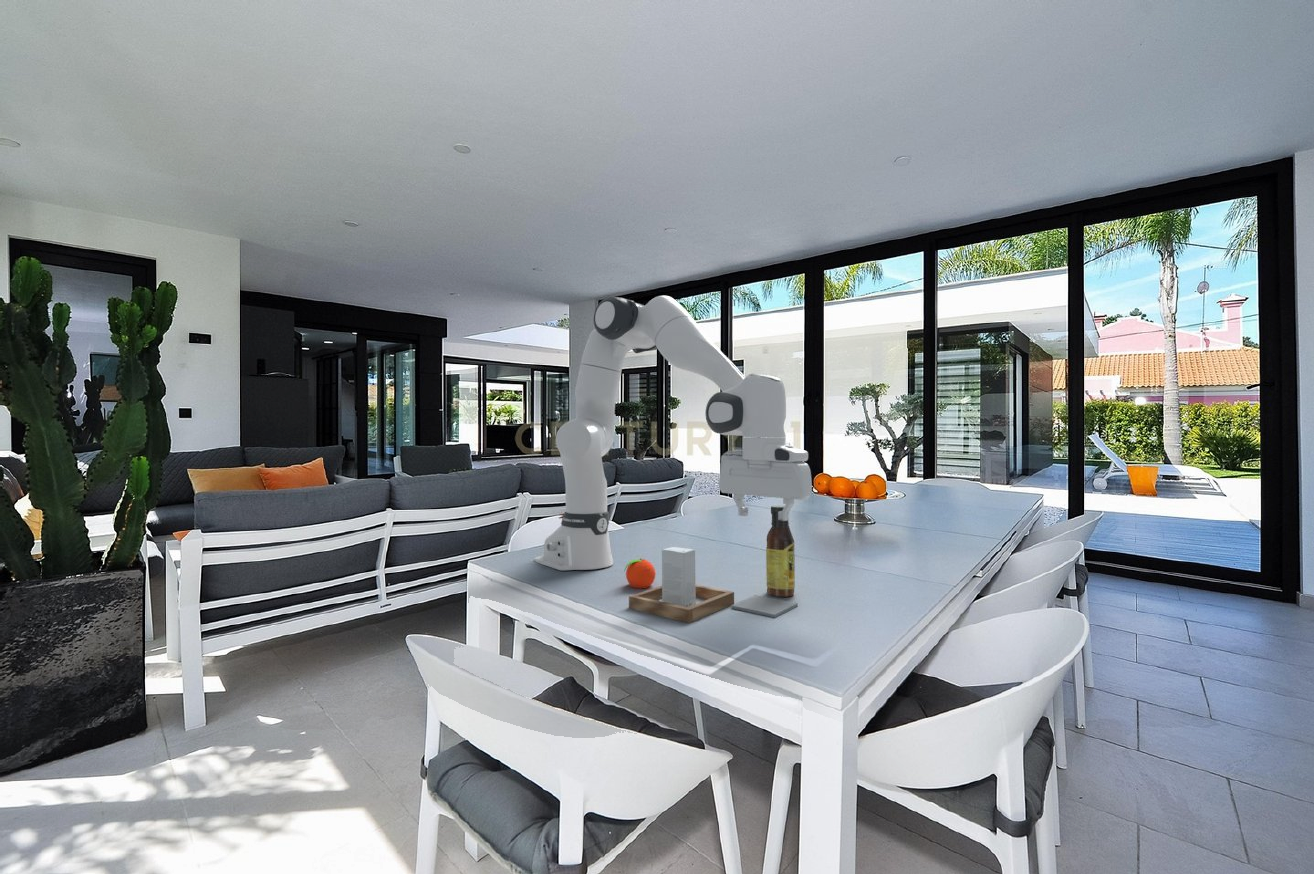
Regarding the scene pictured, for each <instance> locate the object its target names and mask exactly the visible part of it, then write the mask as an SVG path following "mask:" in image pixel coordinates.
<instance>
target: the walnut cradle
mask: <svg viewBox="0 0 1314 874" xmlns="http://www.w3.org/2000/svg"><path fill="white" fill-rule="evenodd" d="M695 586H696V596H697V598H701V599H704V600H703V601H701V602H698V603H696V604H695V605H693V606H690V607H683V606H679V605H674V604H670V603H665V602H662V600H661V601H660V599H662V585H660V586H657V587H653V588H651V589H650V588H649V589H648V590H644V591H641V592H638V593H635V594H632V595H629V596H628V608H629V609H633V610H636V611H638V612H639V611H641V612H644V613H647V614H651V615H653V616H659V617H663V618H667V619H672V620H675V621H679V622H684V623H687V624H691V623H692V622H695V621H697V620H699V619H702V618H704V617H707V616H709V615H711V614H713V613H716V612H718V611H720V610H723V609H725V608H728V607H730V606H731V605H734V604H735V591H731V590H726V589H720V588H715V587H710V586H705V585H700V584H695Z"/></svg>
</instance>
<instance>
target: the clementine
mask: <svg viewBox="0 0 1314 874" xmlns="http://www.w3.org/2000/svg"><path fill="white" fill-rule="evenodd" d="M625 571H626V572H625ZM623 572H625V577H626V578H625V579H626V581H627V582H628V585H630V586H631V587H632V588H634V589H647V588H649V587H650V586H651V585H653V583H654V582H655V578H656V569H655V567H654V565H653V564H652V563H651V562H650V560H647V559H643V558H639V559H634V560H631V561H630V562H628V563H627V565H625V568H624V571H623Z"/></svg>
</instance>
